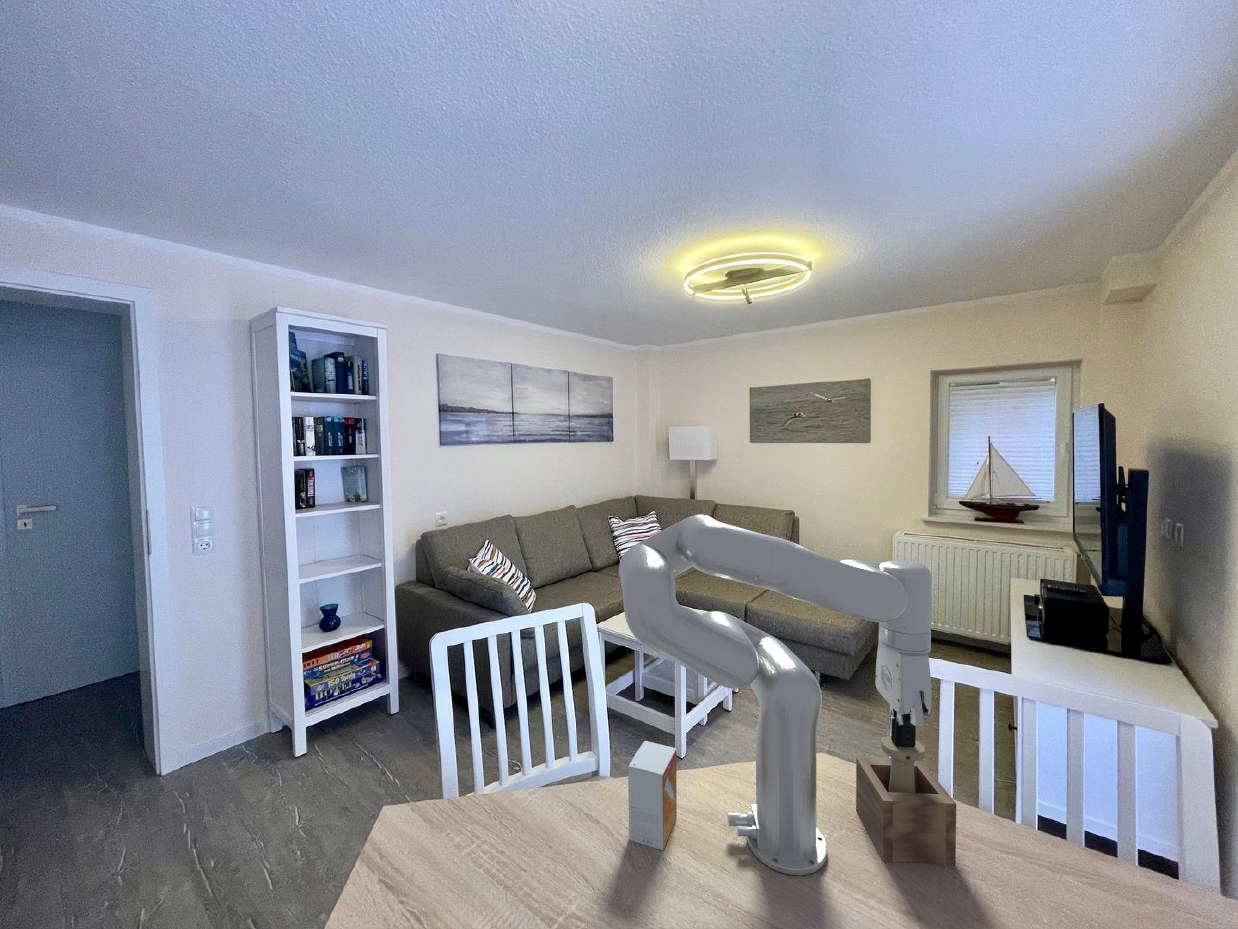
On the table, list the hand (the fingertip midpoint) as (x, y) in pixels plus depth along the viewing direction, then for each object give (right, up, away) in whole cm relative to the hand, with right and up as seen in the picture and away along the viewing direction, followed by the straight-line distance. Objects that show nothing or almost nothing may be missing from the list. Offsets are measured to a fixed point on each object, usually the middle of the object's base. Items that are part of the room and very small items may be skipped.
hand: (903, 744), depth 84 cm
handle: (0, -15, +1) cm, 15 cm away
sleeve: (0, -16, +1) cm, 16 cm away
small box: (-42, -17, +3) cm, 45 cm away
